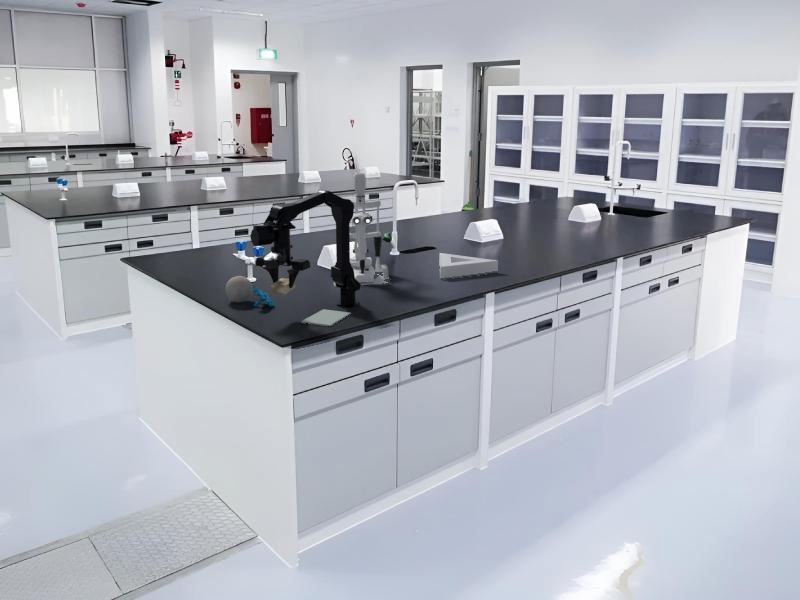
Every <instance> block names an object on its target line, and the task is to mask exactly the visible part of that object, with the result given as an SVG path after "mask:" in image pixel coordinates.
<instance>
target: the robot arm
mask: <svg viewBox="0 0 800 600" xmlns="http://www.w3.org/2000/svg"><path fill="white" fill-rule="evenodd" d="M323 204H325V205H326V206H328V207H329V208H330V210H331V211H330V212H331V216H332V218H333V221H334V222H335V243H336V249H335V250H336V251H335V253H336V256H335V257H336V258H335V259H336V261H335V263H334V265H331V266H330V272H331V273H330V278H331V279H332V282H333V281H334V282H335V284H336V287H335V288H339V289H340V291H339V293H340V295H339V296H340V300H339V301H340V302H338V303H337V304H336V306H339V307H346V306H348V307H347V308H354V307H355V306H357V305H359V304H360V301H357V298H356V297H357V293H356V292H357V291H359V290H360V289H361V287H362V286H361V284H360V283H359V282H358V281H357V280H356V279H355V275H354V270H353V268H352V265H351V263H350V258H351V255H350V254H351V252H350V251H351V246H350V243H351V241H350V240H351V238H350V233H351V232H350V231H351V230H350V223H351V222H352V218H353V214H355V209H354V203H353V201H352V200H351V199H349V198H344V197H341V196H339V195H337V194H335V193H333V192H331V190H326V189H320V190H319V191H317V192H315V193H313V194H310V195H306V196H305V197H302V198H299V199H297V200H295V201H293V202H287V203H286V202H285V203H280V204H273V205H272V206H271V207H270V210H269V213H268V215H267V217H266V219H265V220H264V222H263V223H262V225H259V224H255V225H253V227H252V228H253V229H251V232H250V241H251V244H252V246H254V247H259V246H268V245H272V244H273V246H271V247H270V252H269V253H267V254H266V255H261V256H258V257H256V258H255V262H254V263H255V267H261V268H262V269H263V270H266V272H268V274H269V275H270V278H271V280H272V282H273V283H275V282H276V281H278V280H279V270H280V269H279V268H280V266H282V267H283V266H285V267H290V269H287V271H286V272H287V273H288V279H289V288H292V287H293V284H294V282H295V283H296V278H297V276H299V273H300V272H302V271H305V270H308V269H311V262H310V260H309V259H307V258H305V259H302V258H299V259H295V260H294V257H293V256H292V253H291V251H292V248H293V244H291V230H295V229H296V226H295V225H294V224H293V223H292V221H293V220H294V221H295V219H296V218H297V217H298V216H299V215H300V214H302V213H305V212H307V211H309V210H311V209H314V208H317V207H319V206H321V205H323ZM333 266H334V267H333ZM334 282H333V283H334ZM273 283H272V284H273ZM358 303H359V304H358ZM356 304H357V305H356ZM353 306H354V307H353Z"/></svg>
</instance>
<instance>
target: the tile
mask: <svg viewBox="0 0 800 600" xmlns="http://www.w3.org/2000/svg"><path fill="white" fill-rule="evenodd" d="M270 286H271V294H274V295H287V294H288V293H289V292H291V291H292V290H293V289H295V288H296V281H295V282H294V284H293V287H292V288H289V277H288V278H284V277H281V278H280V279H279V278H278V281H276V282H275V283H272V284H271V285H270Z"/></svg>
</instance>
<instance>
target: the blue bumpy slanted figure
mask: <svg viewBox="0 0 800 600" xmlns="http://www.w3.org/2000/svg"><path fill="white" fill-rule="evenodd" d="M254 292H255V294H256V296H258V297H259V298H258V301H256V302H255V303H253V307H255V308H256V307H258V306H259V305H260V303H261V302H264V303H265V304H266V305H268V306H269V307H271V308H274V307H275V302H274V301H273V299H272V298H271V297H269V295H268V293H267V292H266V291H265V292H264V291H263V290H262V289H260V287H258V286H253V293H254Z"/></svg>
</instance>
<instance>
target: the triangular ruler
mask: <svg viewBox="0 0 800 600" xmlns="http://www.w3.org/2000/svg"><path fill="white" fill-rule="evenodd" d="M438 259H439V263H438V267H439V266H440V269H439V279H440V278H445V277H453V276H462V275H470V274H478V273H485V272H492V271H498V270H499V268H498V267H499V260H498V259H497V260H496V259H489V258H488V259H487V258H482V257H473V256H467V255H466V256H465V255H459V254H458V255H457V254H450V253H444V252H439V257H438ZM498 272H499V271H498Z"/></svg>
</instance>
